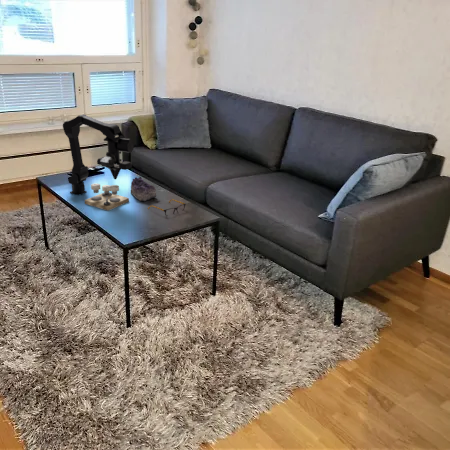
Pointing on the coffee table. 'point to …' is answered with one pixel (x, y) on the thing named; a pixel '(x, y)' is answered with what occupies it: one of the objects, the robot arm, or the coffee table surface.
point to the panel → (101, 198)
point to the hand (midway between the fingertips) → (115, 179)
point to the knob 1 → (95, 188)
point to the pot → (107, 202)
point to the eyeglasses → (170, 208)
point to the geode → (142, 189)
